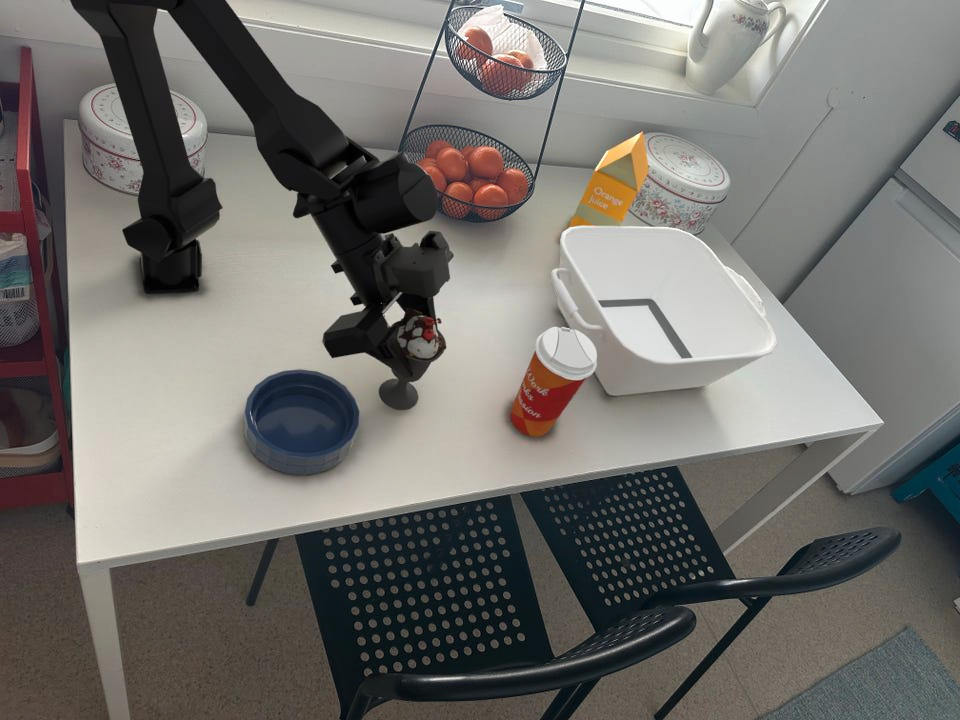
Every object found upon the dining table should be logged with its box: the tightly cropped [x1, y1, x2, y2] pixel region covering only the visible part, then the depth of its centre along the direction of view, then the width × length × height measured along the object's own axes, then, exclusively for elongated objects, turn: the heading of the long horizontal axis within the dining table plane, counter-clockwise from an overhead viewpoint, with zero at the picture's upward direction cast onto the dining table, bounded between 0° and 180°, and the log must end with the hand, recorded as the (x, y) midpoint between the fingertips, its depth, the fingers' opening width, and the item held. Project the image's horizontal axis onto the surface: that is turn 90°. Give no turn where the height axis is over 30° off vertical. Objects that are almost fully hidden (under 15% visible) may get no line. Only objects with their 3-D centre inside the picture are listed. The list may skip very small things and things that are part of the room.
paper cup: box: [510, 326, 597, 437], centre depth 87 cm, size 8×8×14 cm
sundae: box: [378, 308, 448, 411], centre depth 82 cm, size 7×7×15 cm
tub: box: [550, 225, 778, 398], centre depth 103 cm, size 34×27×13 cm
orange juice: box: [567, 130, 650, 229], centre depth 117 cm, size 8×9×20 cm
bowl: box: [242, 368, 360, 476], centre depth 80 cm, size 12×12×4 cm
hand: (423, 359), depth 82 cm, fingers closed on sundae, 6 cm apart
